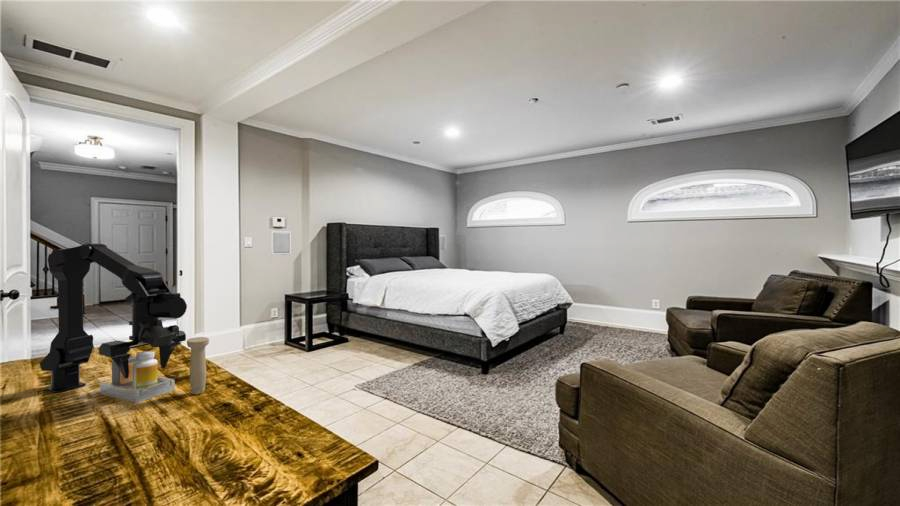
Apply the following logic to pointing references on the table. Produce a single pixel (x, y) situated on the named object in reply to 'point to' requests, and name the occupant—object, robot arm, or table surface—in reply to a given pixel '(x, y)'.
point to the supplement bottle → (145, 370)
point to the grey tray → (124, 386)
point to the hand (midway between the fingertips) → (145, 373)
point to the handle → (197, 364)
